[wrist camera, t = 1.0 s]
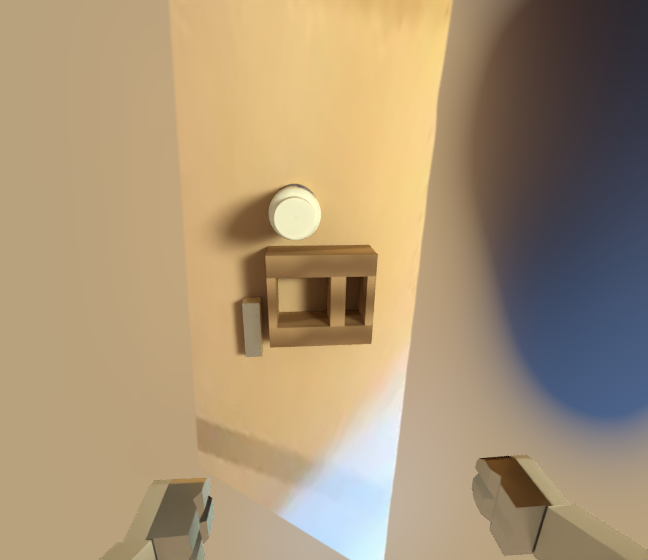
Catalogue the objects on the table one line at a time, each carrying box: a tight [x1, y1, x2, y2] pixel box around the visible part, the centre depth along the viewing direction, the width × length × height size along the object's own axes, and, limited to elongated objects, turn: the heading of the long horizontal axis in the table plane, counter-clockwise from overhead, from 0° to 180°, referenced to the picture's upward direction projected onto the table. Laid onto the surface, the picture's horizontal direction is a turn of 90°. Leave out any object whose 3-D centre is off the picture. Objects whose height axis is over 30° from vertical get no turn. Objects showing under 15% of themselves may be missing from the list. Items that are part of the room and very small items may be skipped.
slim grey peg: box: [242, 297, 263, 357], centre depth 43 cm, size 8×2×2 cm, turn 178°
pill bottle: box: [269, 184, 321, 240], centre depth 35 cm, size 5×5×10 cm
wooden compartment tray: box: [265, 245, 378, 347], centre depth 41 cm, size 12×13×4 cm
